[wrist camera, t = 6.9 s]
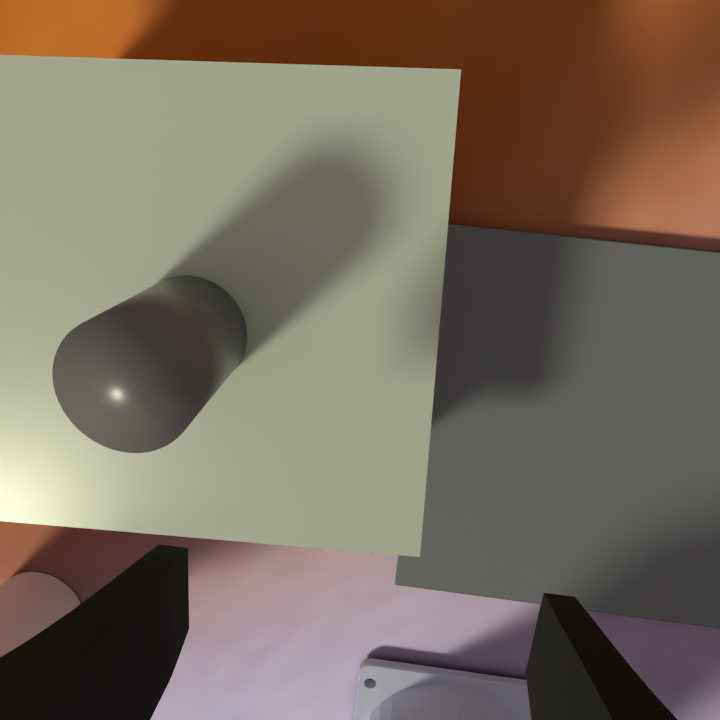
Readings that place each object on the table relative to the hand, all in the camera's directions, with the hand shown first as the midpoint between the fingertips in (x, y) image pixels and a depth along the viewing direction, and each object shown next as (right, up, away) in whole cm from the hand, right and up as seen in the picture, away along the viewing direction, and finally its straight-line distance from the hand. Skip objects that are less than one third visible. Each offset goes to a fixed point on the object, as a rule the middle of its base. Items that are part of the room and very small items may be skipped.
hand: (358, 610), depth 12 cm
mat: (+9, +2, +9) cm, 13 cm away
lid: (-4, +6, +4) cm, 9 cm away
